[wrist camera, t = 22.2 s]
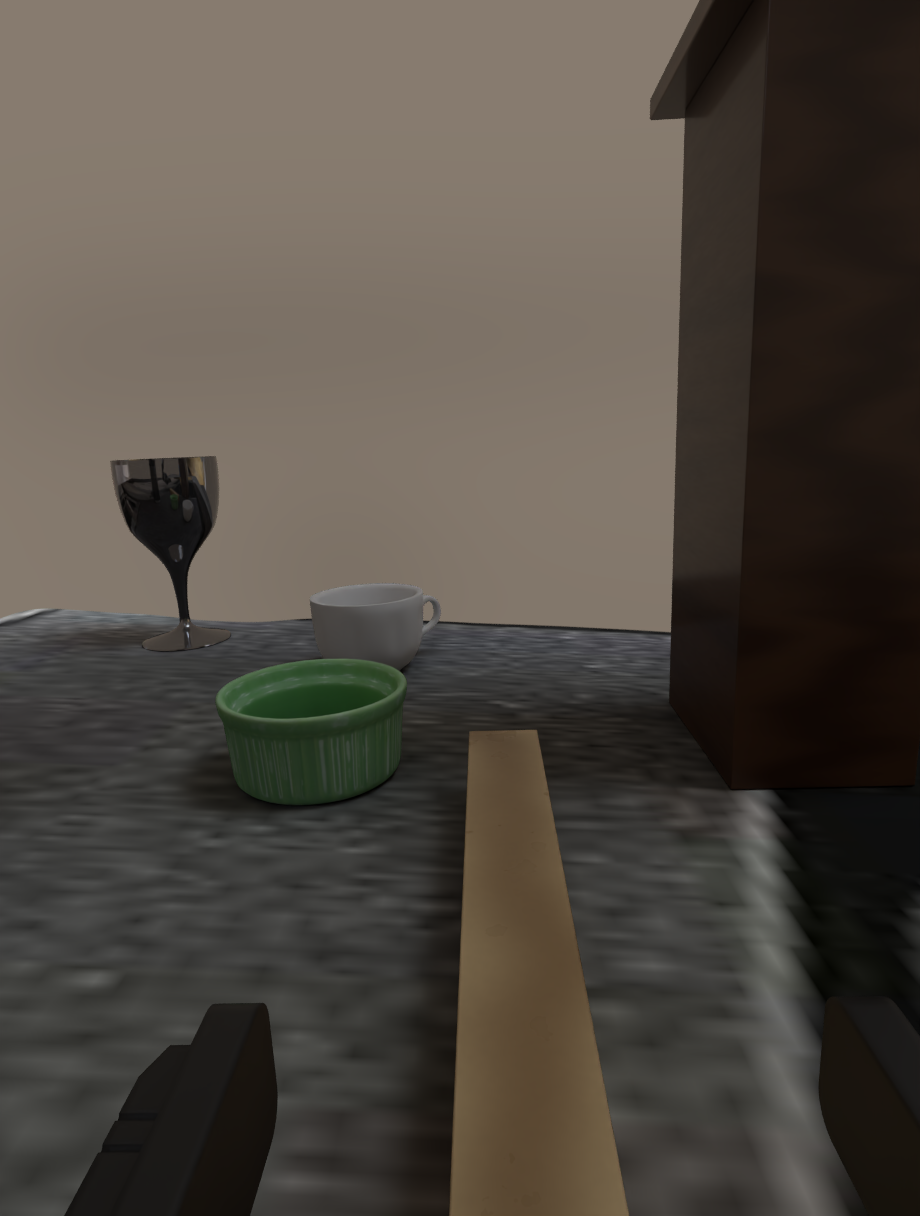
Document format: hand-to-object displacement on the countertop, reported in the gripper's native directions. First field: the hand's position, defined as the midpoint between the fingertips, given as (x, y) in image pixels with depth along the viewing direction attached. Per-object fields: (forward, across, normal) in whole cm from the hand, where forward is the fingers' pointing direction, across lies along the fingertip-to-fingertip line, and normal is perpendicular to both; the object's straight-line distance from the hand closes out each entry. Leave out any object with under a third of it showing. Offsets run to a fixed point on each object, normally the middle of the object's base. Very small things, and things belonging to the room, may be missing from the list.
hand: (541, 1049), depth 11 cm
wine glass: (+50, +26, +7) cm, 57 cm away
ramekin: (+24, +9, +7) cm, 27 cm away
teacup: (+41, +8, +7) cm, 43 cm away
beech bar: (+11, 0, +7) cm, 13 cm away
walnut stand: (+27, -14, +7) cm, 31 cm away
